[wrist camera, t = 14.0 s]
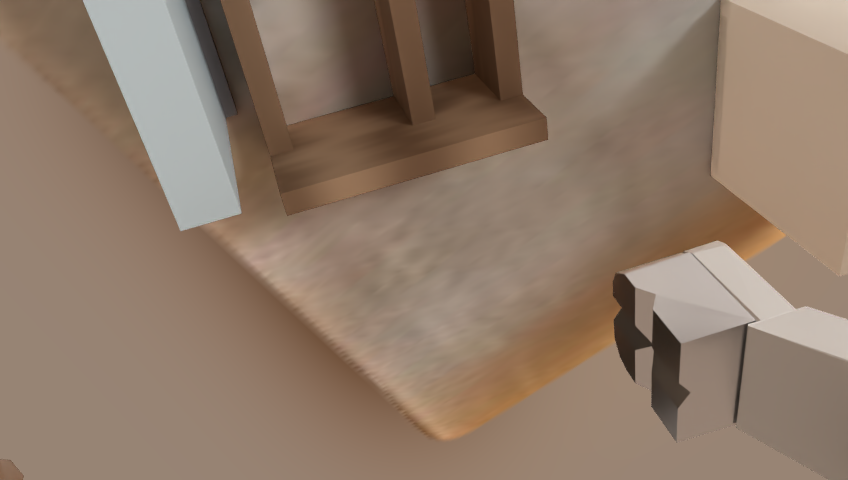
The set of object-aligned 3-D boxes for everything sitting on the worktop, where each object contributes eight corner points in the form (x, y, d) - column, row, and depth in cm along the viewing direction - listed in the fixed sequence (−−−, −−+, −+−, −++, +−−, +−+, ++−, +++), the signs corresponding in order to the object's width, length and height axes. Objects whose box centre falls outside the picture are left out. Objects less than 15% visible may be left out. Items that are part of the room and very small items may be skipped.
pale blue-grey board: (118, -191, 31) (103, -170, 23) (225, 117, 39) (241, 213, 31) (56, -178, 31) (18, -151, 23) (177, 130, 39) (180, 231, 31)
